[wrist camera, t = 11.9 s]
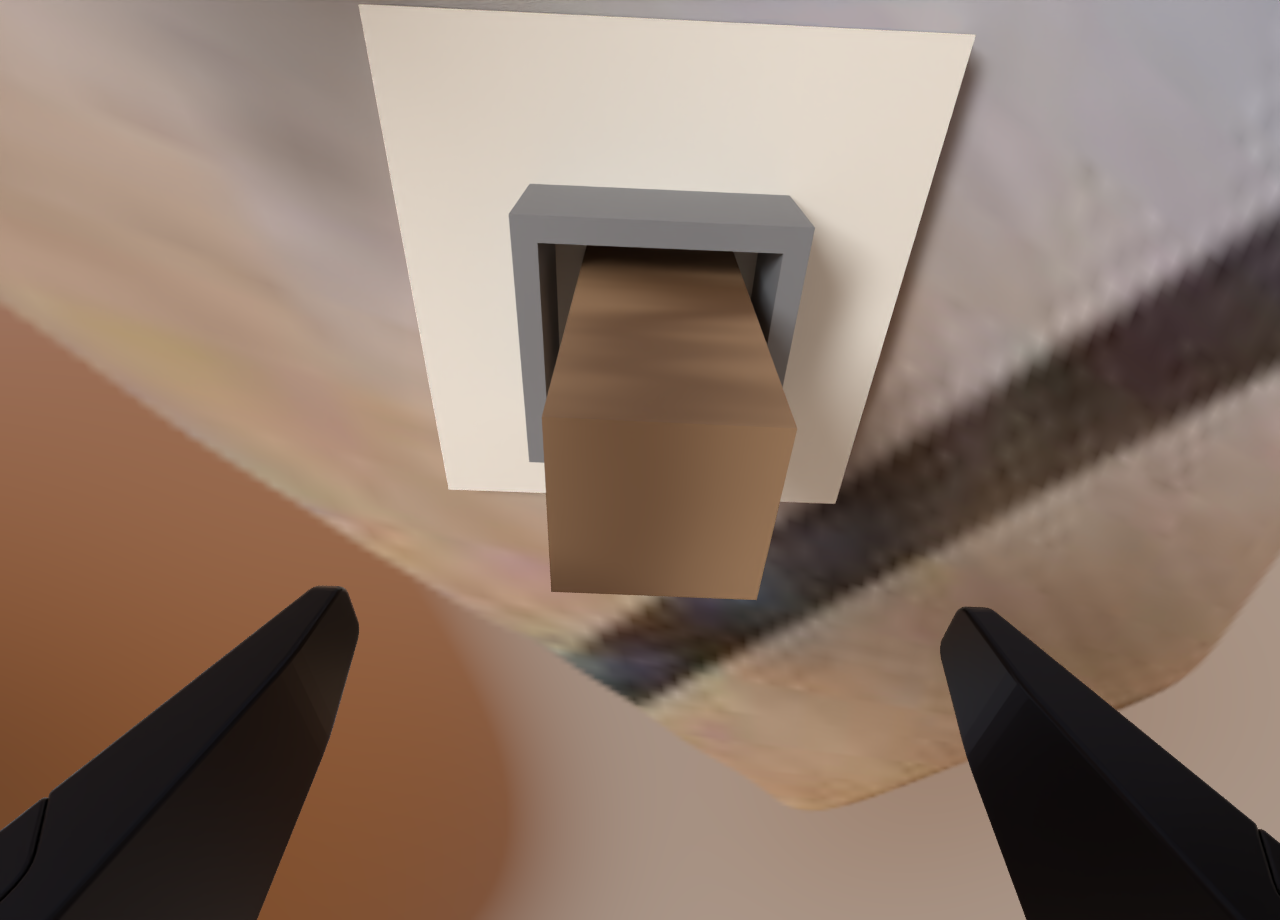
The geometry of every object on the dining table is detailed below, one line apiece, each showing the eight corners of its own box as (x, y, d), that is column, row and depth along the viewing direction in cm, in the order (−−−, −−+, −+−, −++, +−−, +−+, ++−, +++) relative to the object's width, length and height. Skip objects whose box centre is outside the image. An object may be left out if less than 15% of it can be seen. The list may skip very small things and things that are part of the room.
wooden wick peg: (732, 249, 17) (796, 428, 10) (714, 378, 19) (756, 600, 12) (587, 242, 17) (541, 416, 9) (587, 372, 19) (551, 591, 12)
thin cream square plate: (957, 33, 15) (1044, 39, 11) (828, 486, 23) (858, 563, 20) (374, 4, 14) (296, 2, 11) (455, 472, 23) (424, 548, 20)
